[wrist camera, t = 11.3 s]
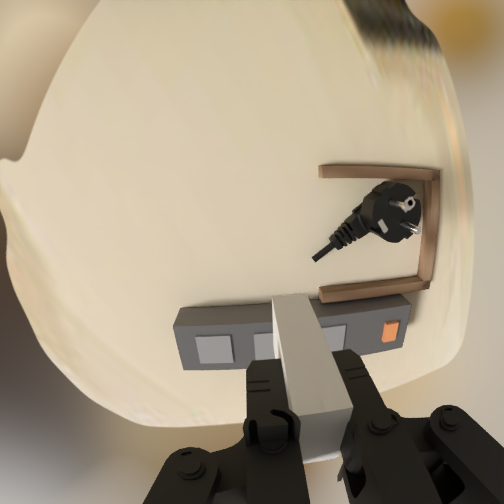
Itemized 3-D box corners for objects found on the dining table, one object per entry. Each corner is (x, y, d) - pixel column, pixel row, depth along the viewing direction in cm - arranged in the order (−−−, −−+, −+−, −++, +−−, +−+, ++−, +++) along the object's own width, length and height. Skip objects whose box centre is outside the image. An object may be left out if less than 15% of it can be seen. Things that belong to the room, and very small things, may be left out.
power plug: (325, 275, 31) (405, 210, 29) (348, 308, 23) (444, 225, 21) (296, 237, 29) (381, 169, 27) (313, 261, 22) (420, 173, 20)
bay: (318, 165, 27) (322, 165, 25) (431, 169, 27) (439, 170, 26) (318, 296, 31) (322, 303, 30) (422, 283, 31) (429, 288, 30)
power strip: (180, 308, 31) (171, 329, 27) (396, 289, 31) (413, 306, 27) (189, 349, 33) (182, 373, 29) (389, 330, 33) (403, 349, 29)
